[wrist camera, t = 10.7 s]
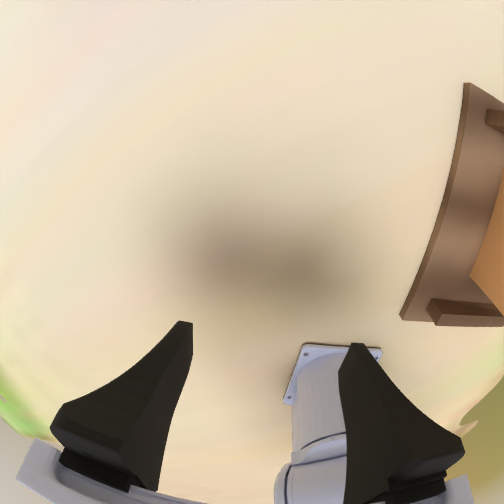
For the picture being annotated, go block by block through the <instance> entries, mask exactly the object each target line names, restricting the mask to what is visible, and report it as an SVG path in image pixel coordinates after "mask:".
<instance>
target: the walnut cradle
mask: <svg viewBox="0 0 504 504" xmlns="http://www.w3.org/2000/svg"><path fill="white" fill-rule="evenodd" d="M503 171H504V103H502V102H501V101H499V100H498V99H496V98H495V97H493V96H491V95H490V94H488V93H487V92H485V91H483V90H482V89H480V88H478V87H477V86H475V85H473V84H472V83H464V91H463V101H462V109H461V117H460V124H459V130H458V136H457V141H456V147H455V152H454V157H453V161H452V166H451V170H450V174H449V178H448V182H447V186H446V190H445V194H444V198H443V201H442V205H441V208H440V211H439V215H438V218H437V221H436V224H435V227H434V230H433V233H432V236H431V239H430V242H429V245H428V248H427V250H426V253H425V256H424V258H423V261H422V264H421V266H420V269H419V271H418V274H417V276H416V279H415V281H414V283H413V286H412V288H411V290H410V293H409V295H408V297H407V299H406V302H405V304H404V306H403V308H402V310H401V312H400V314H399V315H400V317H401V319H402V320H407V321H424V322H434V324H435V325H436V326H464V327H503V326H504V316H503V315H502V313H501V312H500V311H499V310H498V308H497V307H496V306H495V305H494V304H493V302H492V301H491V300H490V299H489V298H488V297H487V295H486V294H485V293H484V292H483V291H482V290H481V288H480V287H479V286H478V285H477V284H476V283H475V282H474V281H473V280H472V279H471V277H470V276H469V275H470V273H471V270H472V268H473V266H474V263H475V261H476V258H477V256H478V253H479V251H480V248H481V245H482V243H483V240H484V237H485V234H486V232H487V229H488V226H489V223H490V220H491V216H492V213H493V210H494V206H495V203H496V199H497V196H498V192H499V188H500V184H501V180H502V176H503Z"/></svg>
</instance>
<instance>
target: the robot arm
mask: <svg viewBox="0 0 504 504" xmlns="http://www.w3.org/2000/svg"><path fill="white" fill-rule="evenodd" d="M306 352H307V353H306ZM382 354H383V353H382V350H381V349H374V348H367V347H366V346H365V345H364V343H351V345H350V347H338V346H325V345H314V344H305V345H303V346H302V348H301V351H300V354H299V357H298V360H297V363H296V366H295V368H294V371H293V374H292V377H291V380H290V382H289V385H288V388H287V390H286V393H285V396H284V398H283V403H284V404H287V405H292V447H293V452H292V453H291V463H288V464H285V465H284V466H283V467H282V469H281V471H280V472H279V473H278V475H277V477H276V480H275V484H274V504H474V502H473V497H472V493H471V489H470V485H469V481H468V477H467V475H466V474H465V475H462V476H459V477H456V478H454V479H451V480H449V481H447V482H444V478H445V477H446V476H447V473H446V469H448V468H449V467H451V466H452V465H453V464H455V463H456V462H457V461H459V460H460V459H461V458H462V457H463V456H464V454H465V450H464V447H463V444H462V441H461V438H460V437H459V436H457V435H455V434H453V433H451V432H449V431H448V430H446V429H444V428H443V427H441V426H440V425H438V424H437V423H435V422H434V421H433V420H431V419H430V418H429V417H427V416H426V415H425V414H424V413H422V412H421V411H420V410H419V409H418V408H417V407H416V406H414V405H413V404H412V403H411V402H410V401H409V400H408V399H407V398H406V397H405V396H404V394H403V393H402V392H401V391H400V390H399V389H398V388H397V387H396V385H395V384H394V383H393V382H392V381H391V379H390V378H389V377H388V376H387V374H386V373H385V372H384V370H383V369H382V368H381V366H380V365H379V364H378V361H379V360H380V358H381V356H382ZM192 356H193V323H190V322H184V321H178V322H177V323H176V324H175V325H174V326H173V328H172V329H171V330H170V331H169V332H168V333H167V334H166V335H165V337H164V338H163V339H162V340H161V341H160V342H159V343H158V344H157V345H156V346H155V347H154V348H153V349H152V350H151V351H150V352H149V353H148V354H146V355H145V356H144V357H143V358H142V359H141V360H140V361H139V362H137V363H136V364H135V365H134V366H133V367H131V368H130V369H129V370H127V371H126V372H125V373H123V374H122V375H120V376H119V377H117V378H116V379H114V380H113V381H111V382H110V383H108V384H106V385H104V386H103V387H101V388H99V389H97V390H95V391H93V392H91V393H89V394H87V395H85V396H82V397H80V398H77V399H75V400H72V401H70V402H67V403H64V404H63V405H62V407H61V408H60V409H59V411H58V412H57V414H56V416H55V418H54V420H53V422H52V424H51V426H50V430H51V432H52V434H53V435H54V436H55V437H56V439H57V440H58V441H59V442H60V443H61V444H62V445H63V446H64V447H65V448H64V450H63V452H61V451H59V450H58V449H56V448H55V447H53V446H51V445H49V444H47V443H45V442H44V441H42V440H40V439H39V438H35V439H34V441H33V443H32V445H31V447H30V449H29V451H28V453H27V455H26V457H25V459H24V461H23V463H22V465H21V468H20V470H19V472H18V474H17V476H16V479H17V480H18V481H19V482H20V483H22V484H23V485H25V486H26V487H28V488H29V489H31V490H32V491H34V492H35V493H37V494H38V495H40V496H42V497H43V498H45V499H46V500H48V501H50V502H52V503H53V504H207V503H201V502H196V501H191V500H186V499H181V498H177V497H173V496H169V495H165V494H161V493H157V492H156V491H157V490H158V484H159V478H160V472H161V466H162V461H163V455H164V450H165V446H166V441H167V437H168V432H169V428H170V424H171V420H172V417H173V413H174V410H175V408H176V405H177V402H178V400H179V397H180V394H181V392H182V389H183V386H184V384H185V381H186V378H187V376H188V373H189V369H190V365H191V360H192Z"/></svg>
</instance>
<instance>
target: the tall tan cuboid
mask: <svg viewBox="0 0 504 504" xmlns="http://www.w3.org/2000/svg"><path fill="white" fill-rule="evenodd" d="M469 276H470V277H471V279H472V280H473V281H474V282H475V283H476V284H477V285H478V286H479V287H480V288H481V290H482V291H483V292H484V293H485V294H486V295H487V297H488V298H489V299H490V300H491V301H492V302H493V304H494V305H495V306H496V307H497V308H498V310H499V311H500V312H501V313H502V315H503V316H504V171H503V176H502V180H501V184H500V188H499V192H498V196H497V199H496V203H495V206H494V210H493V213H492V216H491V220H490V223H489V226H488V229H487V232H486V234H485V237H484V240H483V243H482V245H481V248H480V251H479V253H478V256H477V258H476V261H475V263H474V266H473V268H472V270H471V273H470V275H469Z"/></svg>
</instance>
